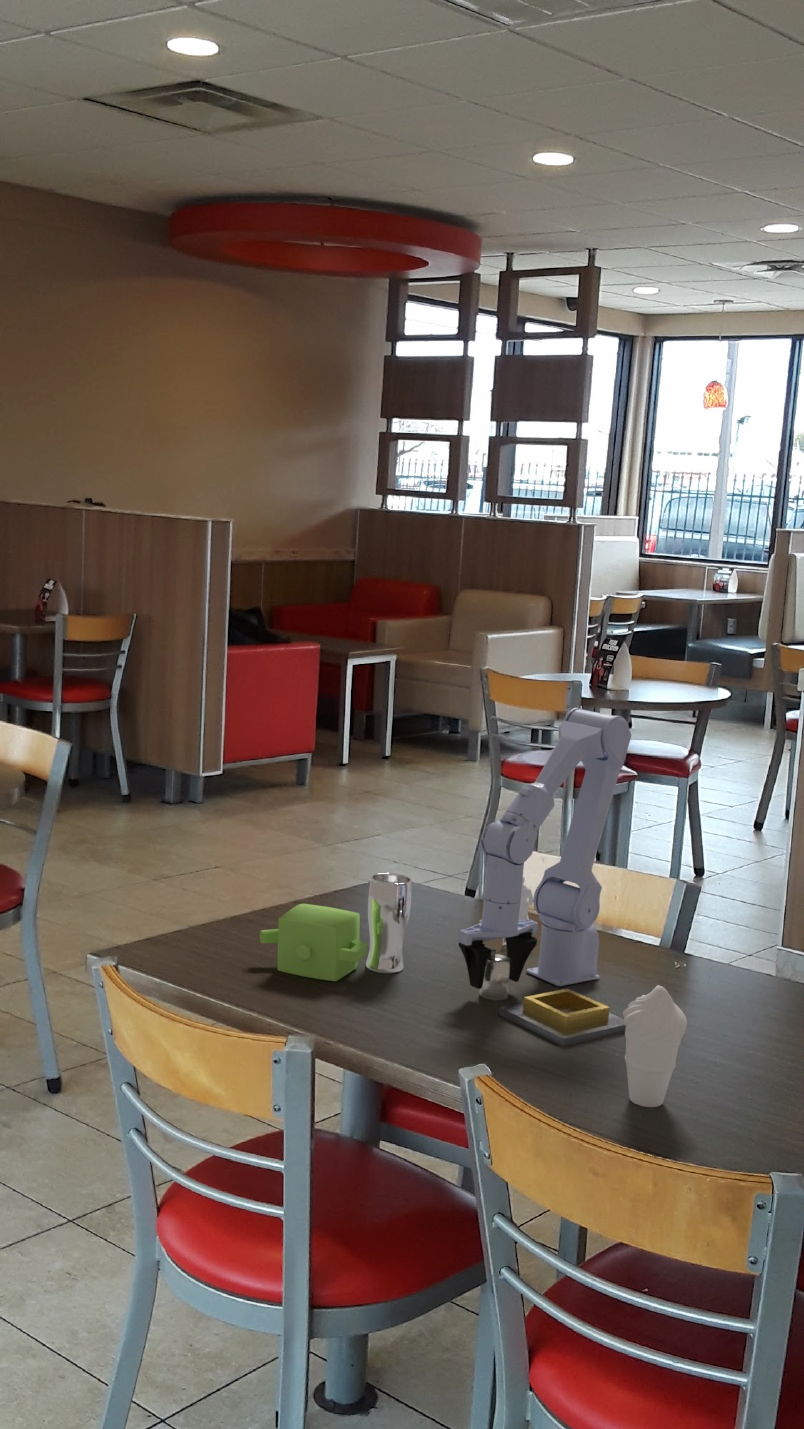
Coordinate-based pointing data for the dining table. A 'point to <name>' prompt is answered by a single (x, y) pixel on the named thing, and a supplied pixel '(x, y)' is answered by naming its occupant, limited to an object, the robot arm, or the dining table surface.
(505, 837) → the robot arm
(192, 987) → the dining table surface
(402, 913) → the beer glass
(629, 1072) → the soft serve ice cream cone
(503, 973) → the spout can
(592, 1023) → the fill port
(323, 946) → the gearbox
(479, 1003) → the dining table surface
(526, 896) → the action figure
